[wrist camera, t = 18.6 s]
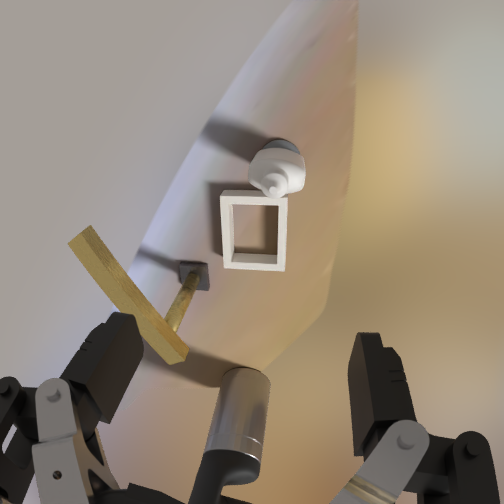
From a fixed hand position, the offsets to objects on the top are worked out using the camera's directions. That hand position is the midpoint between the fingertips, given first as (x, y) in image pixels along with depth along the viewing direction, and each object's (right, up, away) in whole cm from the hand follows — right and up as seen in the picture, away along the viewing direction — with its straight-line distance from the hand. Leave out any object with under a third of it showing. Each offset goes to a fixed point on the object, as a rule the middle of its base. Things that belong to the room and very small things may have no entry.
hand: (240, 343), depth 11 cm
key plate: (-8, 0, +36) cm, 37 cm away
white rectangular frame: (+1, +7, +31) cm, 32 cm away
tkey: (-11, +4, +33) cm, 35 cm away
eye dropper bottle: (+4, +14, +26) cm, 30 cm away
